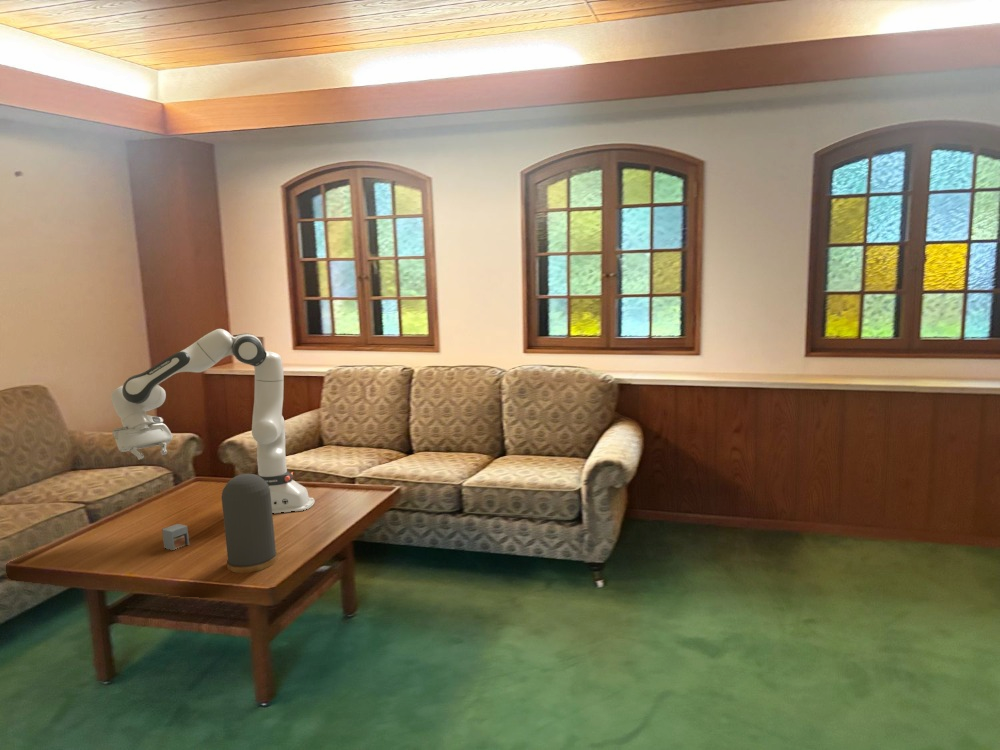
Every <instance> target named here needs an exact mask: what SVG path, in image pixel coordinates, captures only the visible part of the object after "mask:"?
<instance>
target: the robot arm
mask: <svg viewBox="0 0 1000 750" xmlns="http://www.w3.org/2000/svg"><path fill="white" fill-rule="evenodd" d="M230 356H234V357H235V359H236V360H237V361H239V363H242V364H245V365H249V366H252V367H253V368H254V394H253V395H254V399H253V401H254V402H253V408H252V409H253V410H252V422H251V423H252V424H251V435H252V438H253V439H254V441H255V442H257V447H256V448H257V450H256V459H257V471H258V474H257V475H258V476H260V477H261V478H262V479H264V480H265V482H266V483H267V484H268V485H269V488H270V493H271V504H272V513H274V514H282V513H281V512H284V513H292V512H291V511H295V512H304V511H306V509H307V510H308V509H310V508H311V507H313V505H314V504H315V501H316V500H315V498H314V497H310V496H309V493H308V489H307V488H306V487H305V486H304V485H302V484H301V483H299V482H298V481H295V480H294V479H293V475H294V474H293V473H294V472H293V471H292V472H289V470H288V469H287V466H288V465H287V458H286V455H287V454H286V426H285V425H286V423H285V419H284V416H283V407H284V406H283V405H284V390H285V389H284V383H285V382H284V380H285V379H284V378H285V377H284V374H285V373H284V365H283V360H282V356H281V355H280V354H279V353H277V352H275V351H267V350H265V348H264V346H263V344H262V342H261V340H260V338H258V337H257V336H256V335H254V334H252V333H241V334H234V335H232V334H231V333H230V332H229V331H227V330H225V329H223V328H217V329H215V330H212V331H210V332H208V333H207V334H205V335H203V336H202V337H201V338H199V339H198V340H196V341H195V342H193V343H192V344H190V345H189V346H188V347H186V348H184V349H182V350H181V351H178V352H175V353H174V354H172V355H170V356H168V357H167V358H165V359H164V360H162V361H160V362H159V363H157V364H155V365H153V366H152V367H150V368H149V369H148V370H145V371H144V372H141V373H137V374H135V375H132V376H130V377H128V379H126V380H125V382H124V383H123V385H121V386H119V387H117V388H115V389H114V390H113V391H112V393H111V395H110V399H111V400H110V401H111V404H112V407H113V409H114V411H115V413H116V415H117V416H118V417H119V418H120V422H121V425H122V427H117V428H114V429H113V430H112V436H113V437H114V439H115V443H116V446H117V449H118V451H120V452H121V453H124V452H130V453H131V454H132V455H134V456H135V457H137V460H143V459H144V458H145V455H144V453H143V452H140V451H138V450H141V449H147V448H151V447H157V446H158V447H160V448H161V449H160V451H159V452H160V454H161V456H164V455H167V454H168V450H167V445H168V444H170V443H171V441H172V440H173V438H174V436H173V433H172V432H171V430H170V428H169V427H168V426H167V425H166V424H165V423H164V418H163V417H162V416H161V417H160V416H153V415H150V414H147V412H150V411H153V410H155V409H158V408H160V407H162V405H164V403H165V401H166V399H167V392H166V390H165V388H163V387H162V386H160V384H161V383H162V382H165V381H166V380H167V379H169V378H170V377H172V376H173V375H175V374H178V373H185V372H187V373H190V372H191V373H203V372H205V371H207V370H209V369H211V368H212V367H213V366H215V365H216V364H218V362H220V361H221V360H222V359H225V358H226V357H230ZM303 510H304V511H303Z"/></svg>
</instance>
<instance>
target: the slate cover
mask: <svg viewBox="0 0 1000 750" xmlns="http://www.w3.org/2000/svg"><path fill="white" fill-rule="evenodd" d="M161 532H162V534H161V535H162V541H163V548H164V549H165V548H166V550H169V549H170V550H169V551H172V550H175V545H174V538H175V537H178V536H180V535H184V537H185V545H186V544H187V545H186V546H190V539H189V537H190V536H189V530H188V525H184V524H180V523H176V524H172V525H171V526H167V527H165V528H162V529H161ZM175 551H176V550H175Z"/></svg>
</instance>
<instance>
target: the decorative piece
mask: <svg viewBox="0 0 1000 750" xmlns="http://www.w3.org/2000/svg"><path fill="white" fill-rule="evenodd" d="M221 506H222V513H223V514H222V515H223V517H222V518H223V526H224V527H223V528H224V534H225V535H224V536H225V544H226V555H227V560H226V565H227V566H226V567H227V570H229V571H230V572H233V573H241V574H242V573H245V574H246V573H253V572H259V571H261V570H265V569H267V568H270V567H271V566H273V565H275V564H274V563H275V562H276V561H277V562H278V560H277V559H279V558H278V556H279V555H278V552H277V551H276V550H277V549H276V541H275V539H276V538H275V529H274V518H273V514H272V504H271V493H270V488H269V485H268V484H267V483H266V482H265V480H264V479H262V478H261V477H260V476H258V474H255V473H254V474H253V473H241V474H238V475H236V476H234V477H232V478H231V479H230V480H229V481H227V483H225V486H224V487H223V488H222V492H221ZM277 562H276V563H277Z"/></svg>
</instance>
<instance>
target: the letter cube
mask: <svg viewBox="0 0 1000 750" xmlns="http://www.w3.org/2000/svg"><path fill="white" fill-rule="evenodd" d="M174 545H175V549H176V550H178V549H180V548H179V547H181V548H183V547H186V544H185V537H184V535H180V536H178V537H175V538H174ZM182 546H183V547H182ZM177 548H178V549H177Z"/></svg>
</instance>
